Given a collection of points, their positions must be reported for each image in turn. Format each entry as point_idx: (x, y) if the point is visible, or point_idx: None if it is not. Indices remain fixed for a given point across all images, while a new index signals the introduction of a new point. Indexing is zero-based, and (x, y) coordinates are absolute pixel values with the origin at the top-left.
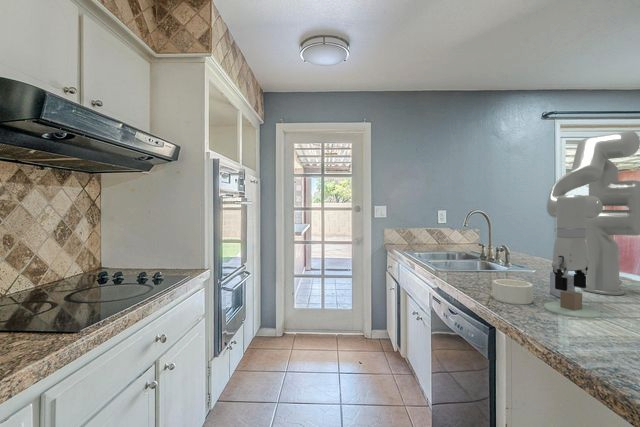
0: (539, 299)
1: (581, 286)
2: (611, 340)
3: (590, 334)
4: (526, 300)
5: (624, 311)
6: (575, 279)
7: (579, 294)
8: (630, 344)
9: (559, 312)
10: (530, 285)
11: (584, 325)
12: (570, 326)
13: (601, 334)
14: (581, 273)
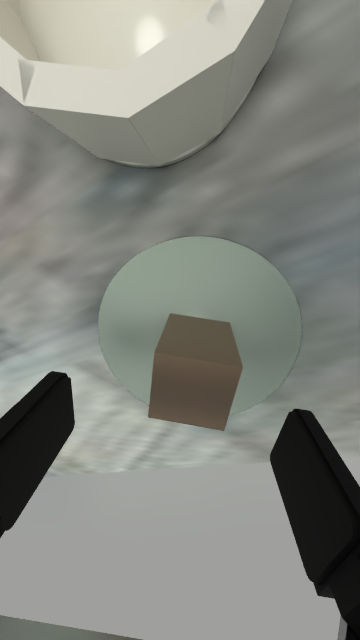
0: (313, 137)
1: (277, 452)
2: None
3: None
4: (98, 156)
5: (346, 439)
6: (314, 476)
7: (195, 421)
8: None
9: (99, 333)
10: (139, 83)
11: None
12: (18, 387)
13: None
14: (347, 616)
